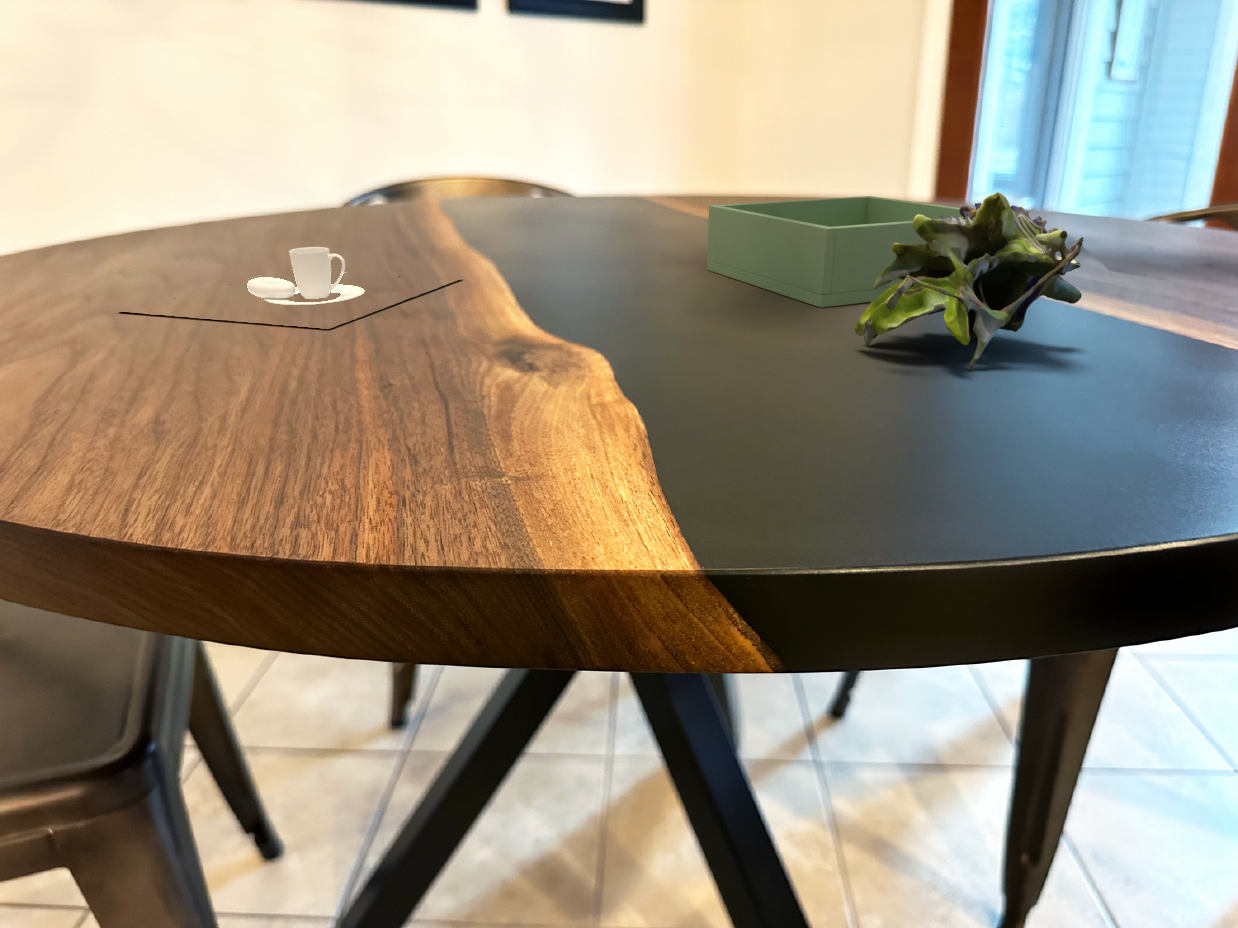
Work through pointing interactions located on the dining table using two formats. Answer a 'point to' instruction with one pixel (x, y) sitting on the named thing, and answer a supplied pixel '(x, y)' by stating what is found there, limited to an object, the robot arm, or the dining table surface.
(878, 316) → the green leafy lump
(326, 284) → the teacup and saucer
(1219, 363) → the dining table surface
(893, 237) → the green open box
